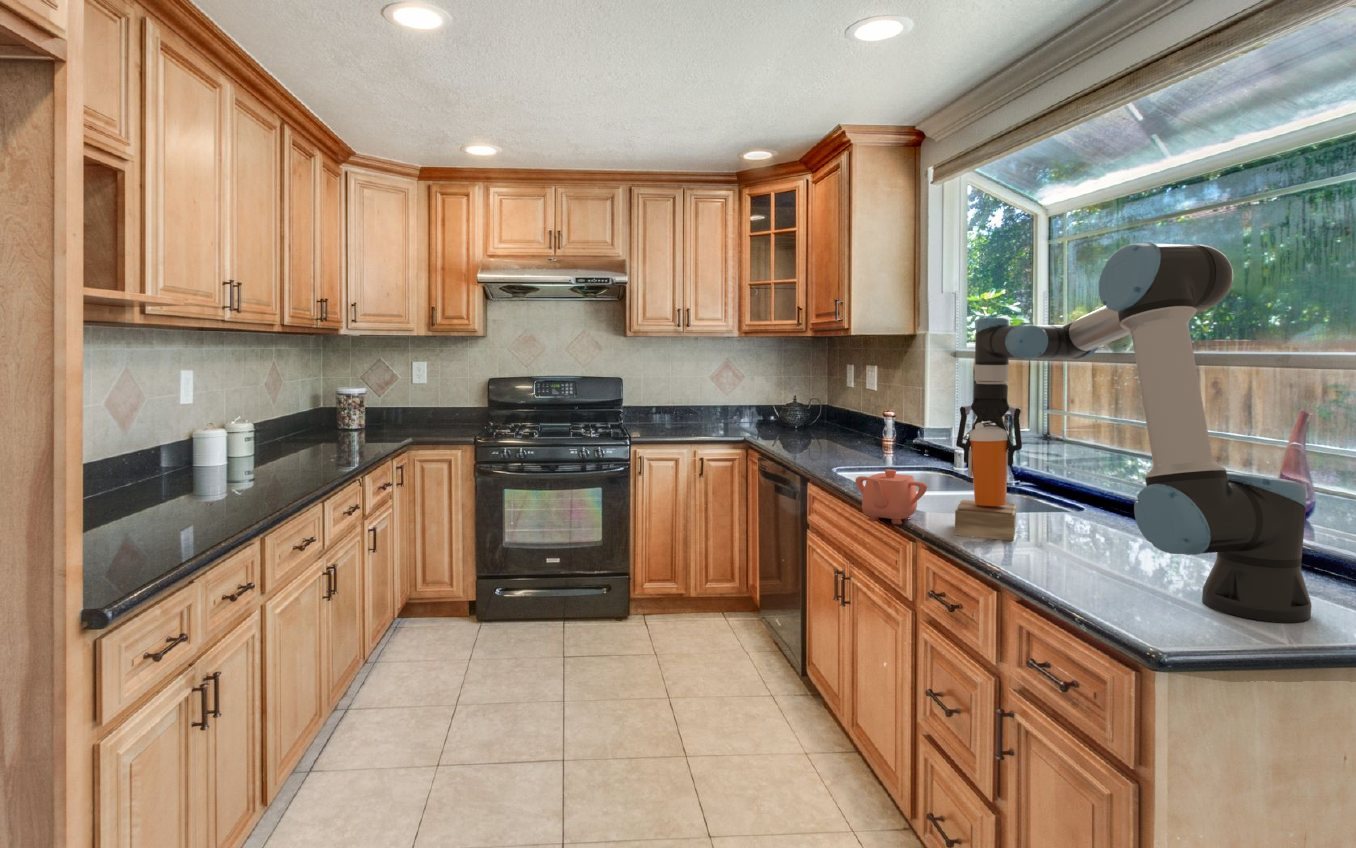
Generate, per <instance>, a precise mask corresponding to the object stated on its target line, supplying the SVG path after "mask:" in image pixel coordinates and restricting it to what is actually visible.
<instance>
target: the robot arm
mask: <svg viewBox="0 0 1356 848" xmlns="http://www.w3.org/2000/svg"><path fill="white" fill-rule="evenodd" d="M1099 275H1100V276H1099V280H1098V295H1099V296H1098V297H1099V299H1100V302H1101V303H1102V304H1103V305H1104V306H1102V307H1099V308H1098V309H1096V310H1094V311H1091V312H1090V313H1088V314H1086V315H1083V316H1081V317H1079V318H1077V319H1075V320H1073V321H1071V322H1068V323H1066V324H1032V323H1027V324H1026V323H1023V324H1016V325H1015V324H1014V325H1011V321H1010V318H1008V317H983V318H982V317H981V318H979V319H978V320H977V321H976V330H975V334H974V337H975V338H974V339H975V344H974V345H975V346H974V347H975V349H974V351H975V352H974V377H973V379H974V381H975V382H976V383H974V385H973V401H972V403H971V404H970V405H965V406H964V405H963V406H962V405H961V407H960V408H959V413H960V420H959V425H958V426H959V427H958V432H957V436H956V437H957V438H956V447H958V448H959V449H962V450H963V462H964V464H968V466H967V467H968V468H967V478H973V471H972V451H971V446H970V445H971V442H970V441H969V440H970V435H969V434H968V437H967V440H966V442H963V441H964V437H965V431H966V426H967V425H966V424H967V420H968V415H970V413H971V411H973V413H974V414H975V416H976V417H977V418H976V419H975V421H974V422H975V423H977V422H980V423H984V422H990V421H991V422H997V423H998V426H999V428H1002V429H1004V430H1005V431H1006V432H1007V431H1008V429H1007V427H1006V424H1005V422H1003V421H1004V418H1003V417H1005V415H1006V414H1007V412H1009V413H1010V416H1011V417H1013V418H1012V420H1013V429H1014V439H1015V444H1014V445H1013V443H1012V440H1011V438H1010V435H1008V434H1007V444H1006V446H1007V449H1008V451H1007V452H1006V474H1005V479H1006V480H1007V481H1008V475H1009V474H1008V471H1009V466H1013V464H1014V453H1015V452H1017V451H1020V450H1022V448H1023V443H1022V434H1021V424H1020V415H1021V412H1022V409H1021V408H1020V407H1013V406H1010V404H1009V402H1008V394H1009V393H1008V391H1009V390H1008V389H1009V386H1008V383H1007V382H1008V381H1009V368H1010V367H1009V366H1010V365H1009V364H1010V359H1019V360H1031V359H1074V360H1078V359H1084V358H1089V357H1092V356H1093V355H1095V354H1096V352H1097V351H1098V349H1099V348H1100V347H1102V346H1104V345H1107V344H1109V343H1112V342H1114V341H1115V342H1116V341H1117V340H1119V339H1122V338H1124V337H1127V336H1130V335H1131V338H1132V347H1133V351H1134V357H1135V363H1136V370H1137V374H1138V375H1137V376H1138V381H1139V387H1140V394H1141V398H1142V405H1143V410H1144V417H1145V423H1146V429H1147V436H1148V440H1149V446H1150V453H1151V459H1152V464H1153V465H1152V467H1151V469H1150V470H1149V472H1147V473H1146V475H1145V476H1144V478H1145V485H1146V486H1145V487H1144V488H1143V489H1141V490H1140V491H1139V492H1138V494H1137V496H1136V499H1137V500H1135V501H1134V505H1133V507H1134V508H1133V510H1134V511H1133V513H1134V518H1135V522H1136V525H1137V527H1138V529H1139V531H1140V533H1141V535H1142V536H1143V537H1144V538H1145V539H1146V541H1147V542H1149V543H1151V545H1152V546H1153V547H1154V548H1155V549H1158V550H1159V551H1161V552H1164V553H1167V554H1170V555H1186V556H1190V555H1194V556H1196V555H1201V554H1211V553H1216V560H1215V562H1214V564H1213V565H1212V568H1211V570H1210V572H1209V574H1208V576H1207V577H1206V580H1205V583H1204V584H1203V587H1202V595H1201V601H1202V602H1203V603H1204V604H1205V605H1206V606H1208V607H1210V608H1212V609H1214V610H1217V611H1220V612H1222V613H1224V614H1229V615H1232V616H1236V617H1241V618H1246V619H1250V620H1256V621H1257V620H1258V621H1263V622H1275V623H1300V622H1305V620H1306V621H1308V620H1310V618H1311V616H1312V602H1311V598H1310V596H1309V592H1308V589H1307V586H1306V583H1305V579H1304V576H1303V572H1302V559H1303V548H1304V537H1305V525H1306V514H1307V510H1308V504H1307V490H1306V487H1305V486H1304V485H1303V484H1302V483H1299V482H1298V481H1295V480H1290V479H1284V478H1283V479H1282V478H1277V477H1272V476H1265V475H1259V474H1251V473H1245V472H1234V471H1227V469H1226V467H1224V466H1223V465H1220V464H1219V463H1218V462H1217V461H1216V460H1214V458H1213V452H1212V448H1211V446H1212V445H1211V442H1210V436H1209V431H1208V425H1207V420H1206V415H1205V414H1206V413H1205V408H1204V403H1203V398H1202V392H1201V387H1200V382H1199V381H1200V380H1199V376H1198V375H1199V374H1198V370H1197V365H1196V359H1195V353H1194V348H1193V343H1192V337H1191V332H1190V327H1189V322H1190V321H1191V319H1193V317H1194V316H1195V315H1196V314H1198V313H1202V312H1204V311H1206V310H1208V309H1211V308H1213V307H1214V306H1216V305H1218V304H1220V302H1222V301H1223V299H1224V300H1225V297H1226V296H1227V295H1228V294H1229V292H1230V290H1231V288H1232V285H1233V282H1234V269H1233V267H1232V264H1231V262H1230V260H1229V259H1228V258H1227V256H1226V255H1225V254H1224V253H1223V252H1221V251H1220V250H1218V249H1216V248H1214V247H1212V246H1210V245H1206V244H1196V243H1195V244H1179V243H1178V244H1177V243H1175V244H1173V243H1155V242H1151V241H1150V242H1143V243H1132V244H1131V243H1130V244H1126V245H1124V246H1121V247H1120V248H1118V249H1117V250H1116V251H1114V253H1113V254H1111V255H1110V257H1109V258H1108V259H1107V261H1106V262H1105V265H1104V267H1103V268H1102V270H1101V273H1100V274H1099ZM973 429H974V426H973V428H972V427H971V430H973Z"/></svg>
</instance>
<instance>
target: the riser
mask: <svg viewBox="0 0 1356 848" xmlns="http://www.w3.org/2000/svg"><path fill="white" fill-rule="evenodd" d="M954 513H955V514H954V536H957V535H958V537H967V536H974V537H973V538H978V537H980V539H988V540H989V539H990V540H1001V541H1011V542H1012V541H1013V542H1014V541H1015V534H1016V524H1017V523H1016V521H1017V505H1016V504H1015V503H1010V502H1009V503H1007V502H1006V504H1005V505H1002V506H981V505H977V504H975V500H969V499H968V500H967V499H962V500H960V501H959V503H958V505H957V507H956V509H955V512H954Z"/></svg>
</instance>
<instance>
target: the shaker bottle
mask: <svg viewBox="0 0 1356 848" xmlns="http://www.w3.org/2000/svg"><path fill="white" fill-rule="evenodd" d="M975 422H976V421H973V422H972V424H971V430H970V431H969V433H968V436H969V435H970V440H969V441H970V442H971V445H970V449H971V451H972V482H973V493H974V494H973V495H974V501H975V504H977V505H981V506H1002V505H1005V504H1006V503H1007V489H1008V488H1007V485H1008V484H1007V483H1008V479H1007V480H1006V479H1005V474H1006V452H1007V451H1008V449H1007V446H1006V444H1007V434H1008V435H1009V433H1010V432H1009V431H1008V430H1007V432H1006V431H1005V430H1004V429H1002V428H999V426H998V423H997V422H991V421H987V422H981V423H980V422H977V423H975ZM1003 422H1004V423H1005V422H1006V421H1004V420H1003ZM993 424H995V425H993ZM973 426H974V429H973V430H972V428H973ZM1009 436H1010V435H1009Z"/></svg>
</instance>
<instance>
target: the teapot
mask: <svg viewBox="0 0 1356 848" xmlns="http://www.w3.org/2000/svg"><path fill="white" fill-rule="evenodd" d="M864 481H865V484H864ZM855 485H856V487H857V489H858V490H859V492H860V493H861V494H862V501H861V510H862V513H863V515H864V516H868V517H869V518H868V519H867V521H869V522H879V519H880V518H884V519H891V524H893V525H902V524H903V521H902V520H904V519H908V518H911V516H913V514H915V512H916V511H917V508H918V500H920V498H922V497H923V496H924V495H925V493H926V492H927V490H928V485H927V484H926V483H925V482H921V481H915V478H914V476H913V475H909V474H908V475H907V474H900V473H899V474H897V470H896V469H890V468H889V469H888V468H887V469H885V470H884V472H881V473H875V474H873V475H870V476H862V475H861V476H857V477H855ZM916 487H918V491H917V488H916ZM904 521H905V520H904Z"/></svg>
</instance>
